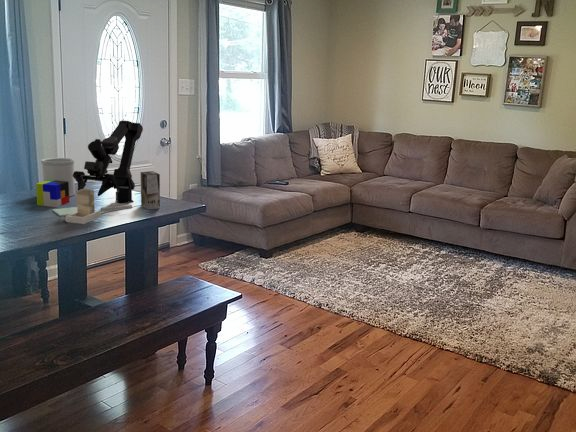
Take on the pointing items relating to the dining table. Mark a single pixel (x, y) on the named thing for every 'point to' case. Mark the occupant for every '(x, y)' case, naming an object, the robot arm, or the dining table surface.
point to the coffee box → (150, 190)
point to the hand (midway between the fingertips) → (88, 194)
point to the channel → (82, 220)
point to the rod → (116, 207)
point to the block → (85, 202)
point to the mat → (65, 211)
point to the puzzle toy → (52, 193)
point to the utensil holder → (59, 171)
